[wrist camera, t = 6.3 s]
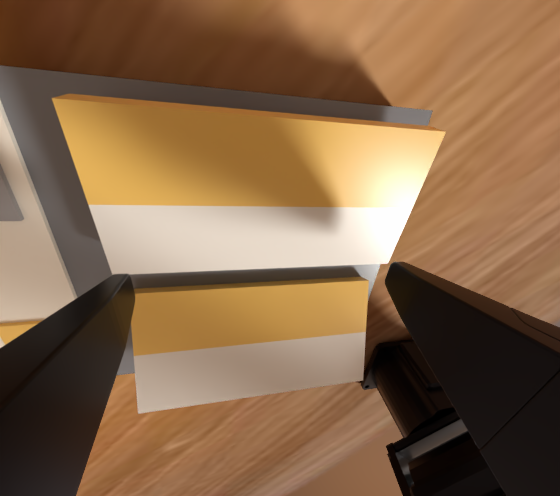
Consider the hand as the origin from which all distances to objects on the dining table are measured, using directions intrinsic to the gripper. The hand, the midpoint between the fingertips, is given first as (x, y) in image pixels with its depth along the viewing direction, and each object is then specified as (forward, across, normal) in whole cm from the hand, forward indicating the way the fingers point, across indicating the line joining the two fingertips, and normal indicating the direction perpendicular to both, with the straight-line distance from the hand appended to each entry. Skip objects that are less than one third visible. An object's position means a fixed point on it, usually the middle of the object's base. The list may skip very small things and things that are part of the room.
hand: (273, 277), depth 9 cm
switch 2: (+3, 0, +6) cm, 7 cm away
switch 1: (+3, 0, -2) cm, 3 cm away
